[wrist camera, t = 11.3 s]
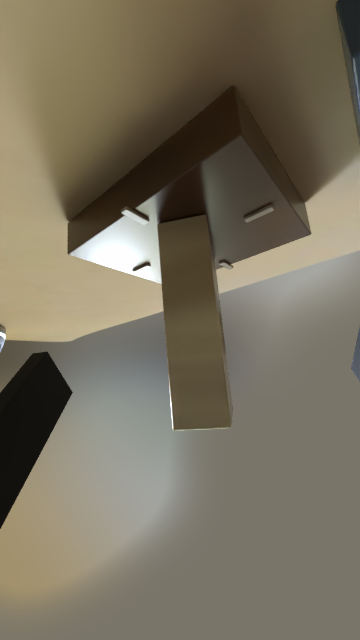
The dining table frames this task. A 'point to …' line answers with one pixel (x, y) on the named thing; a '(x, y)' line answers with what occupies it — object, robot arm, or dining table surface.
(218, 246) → the walnut base
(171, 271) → the beige flat block
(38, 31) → the dining table surface
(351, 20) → the blue base
